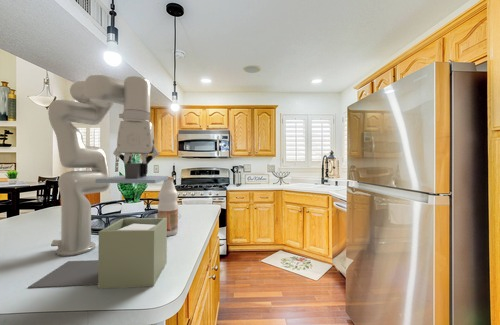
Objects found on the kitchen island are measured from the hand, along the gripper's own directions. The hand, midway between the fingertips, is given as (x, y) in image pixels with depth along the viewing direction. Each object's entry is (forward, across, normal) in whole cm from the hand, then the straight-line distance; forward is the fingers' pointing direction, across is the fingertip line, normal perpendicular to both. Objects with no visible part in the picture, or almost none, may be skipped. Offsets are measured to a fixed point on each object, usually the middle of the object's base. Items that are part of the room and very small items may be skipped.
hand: (136, 175), depth 74 cm
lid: (+2, 0, 0) cm, 2 cm away
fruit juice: (+32, 0, +42) cm, 52 cm away
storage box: (+31, 0, 0) cm, 31 cm away
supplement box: (+32, 0, 0) cm, 32 cm away
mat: (+31, -18, +3) cm, 36 cm away
